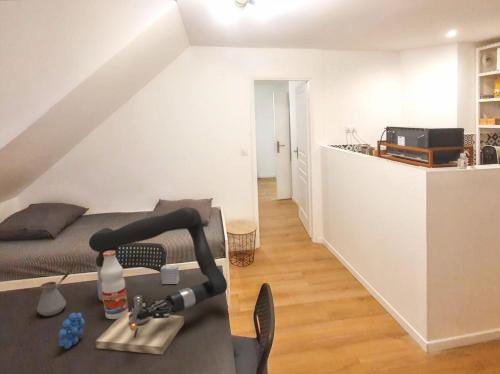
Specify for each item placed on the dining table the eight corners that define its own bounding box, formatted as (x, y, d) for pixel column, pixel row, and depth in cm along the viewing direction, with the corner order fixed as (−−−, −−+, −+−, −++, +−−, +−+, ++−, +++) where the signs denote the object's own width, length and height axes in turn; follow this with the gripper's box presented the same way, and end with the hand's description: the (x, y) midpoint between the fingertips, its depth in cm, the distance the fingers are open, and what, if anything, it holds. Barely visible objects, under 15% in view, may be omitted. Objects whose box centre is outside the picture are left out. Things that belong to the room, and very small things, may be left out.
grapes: (77, 333, 141) (72, 305, 139) (90, 336, 139) (86, 307, 137) (52, 352, 130) (47, 321, 128) (66, 355, 128) (62, 324, 126)
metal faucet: (130, 316, 146) (127, 295, 144) (150, 313, 147) (148, 292, 146) (123, 351, 124) (120, 326, 122) (147, 346, 125) (144, 322, 124)
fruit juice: (128, 306, 161) (121, 246, 155) (128, 317, 152) (120, 254, 146) (106, 310, 158) (98, 250, 153) (104, 321, 149) (95, 257, 144)
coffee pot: (52, 320, 152) (46, 287, 149) (31, 316, 156) (25, 284, 153) (88, 296, 172) (84, 266, 169) (69, 293, 176) (65, 265, 173)
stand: (96, 348, 131) (95, 340, 131) (125, 318, 151) (125, 311, 150) (162, 354, 126) (161, 346, 125) (184, 322, 145) (183, 315, 145)
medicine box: (179, 281, 184) (178, 265, 182) (177, 285, 180) (175, 268, 178) (164, 281, 185) (163, 265, 183) (161, 285, 180) (160, 268, 179)
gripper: (172, 285, 145) (130, 300, 135) (188, 297, 135) (144, 314, 125) (174, 302, 147) (132, 318, 136) (190, 315, 137) (146, 334, 126)
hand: (138, 316), depth 131 cm, fingers closed
